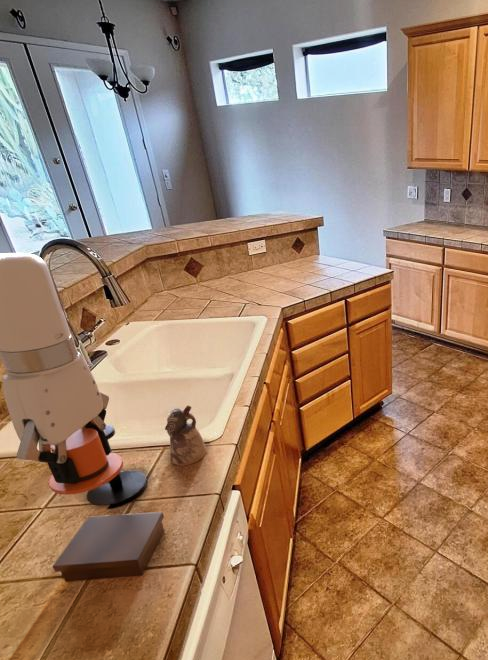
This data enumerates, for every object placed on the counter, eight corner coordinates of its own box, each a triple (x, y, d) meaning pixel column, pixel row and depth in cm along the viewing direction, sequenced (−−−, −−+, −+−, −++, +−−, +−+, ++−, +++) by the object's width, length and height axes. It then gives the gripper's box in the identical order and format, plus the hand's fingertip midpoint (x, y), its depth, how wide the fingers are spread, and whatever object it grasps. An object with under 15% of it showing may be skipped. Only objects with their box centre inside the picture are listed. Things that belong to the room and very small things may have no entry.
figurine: (168, 452, 96) (156, 405, 90) (202, 442, 99) (192, 397, 94) (173, 469, 90) (160, 421, 85) (209, 458, 94) (198, 411, 88)
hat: (35, 497, 59) (17, 460, 56) (72, 456, 67) (58, 423, 64) (105, 492, 60) (91, 456, 57) (133, 453, 68) (122, 420, 65)
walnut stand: (61, 584, 65) (52, 566, 64) (95, 534, 74) (88, 516, 73) (144, 577, 67) (137, 559, 65) (167, 528, 76) (162, 511, 74)
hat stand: (77, 511, 79) (51, 449, 73) (104, 476, 88) (83, 418, 82) (134, 507, 80) (113, 446, 74) (155, 473, 89) (138, 415, 83)
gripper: (64, 330, 63) (100, 433, 71) (-56, 384, 47) (9, 508, 55) (113, 331, 62) (144, 435, 70) (9, 386, 47) (64, 511, 55)
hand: (84, 466), depth 63 cm, fingers closed on hat, 5 cm apart
